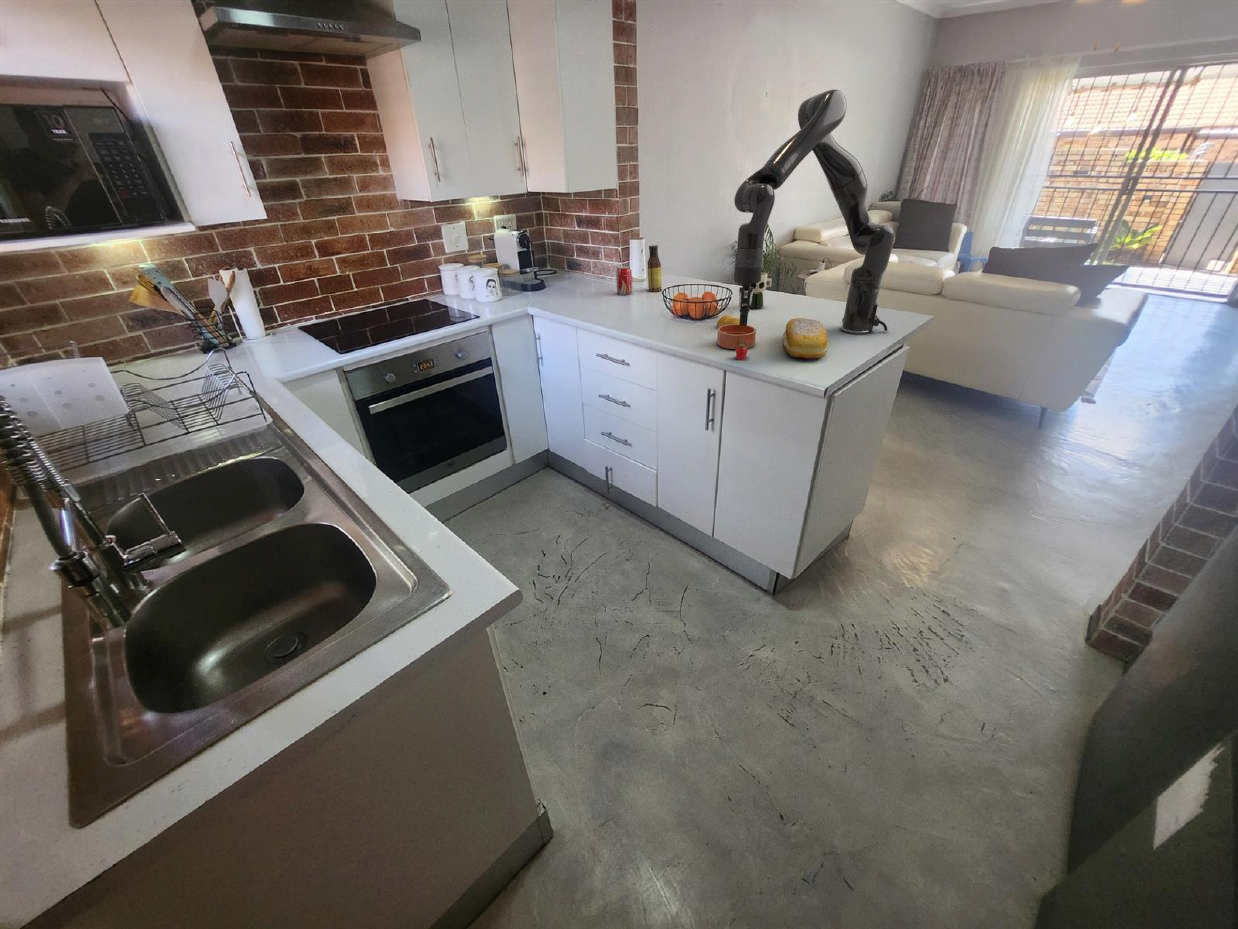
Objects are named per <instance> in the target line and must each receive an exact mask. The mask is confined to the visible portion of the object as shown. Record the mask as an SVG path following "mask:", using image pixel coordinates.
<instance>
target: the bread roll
mask: <svg viewBox="0 0 1238 929" xmlns="http://www.w3.org/2000/svg"><path fill="white" fill-rule="evenodd" d="M739 322H740V318H737V317H733V316H731V315H723V316H721V317H720V318H719V319H717V321H716V325H717V327H718V328H719V327H721V326H724V325H730V324H739Z"/></svg>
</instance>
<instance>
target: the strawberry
mask: <svg viewBox="0 0 1238 929" xmlns="http://www.w3.org/2000/svg"><path fill="white" fill-rule="evenodd" d="M747 354H748V348H746V347H745V345H744V344H739V346H738V347H737V348H736V349H735V359H736V360H739V361H744V360H746V359H747Z"/></svg>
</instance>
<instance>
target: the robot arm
mask: <svg viewBox="0 0 1238 929" xmlns="http://www.w3.org/2000/svg"><path fill="white" fill-rule="evenodd" d="M847 106H848V105H847V99H846V96H845V94H844V93H843V92H842V90H839V89H829V90H825V91H823V92H821V93H819V94H816V95H813V96H810V97H809V98H807V99H805V100H803V101H802V103H801V104H800V105H799V107H798V110H797V111H798V112H797V121H798V126H799V129H800V130H798V131H796V133H795V134H793V135H792V136H791V137H790V138H788V139H787V140H786V141H784V143H783V144H781V145H780V146H779V147H778V148H777V149H776V150H775V151H774V153H773V154H772V155H771V156H770V157H769V158H768V159H767V161H766V162H765V163H764V165H763V166H762V167H761V168H760V169H758V170H756V171H754V173H752V174H751V175H750V176H749V177H747V178H746V179H745V180H744V181H743V182H742V183H741V184H740V185H739V186H738V188H737V189H736V192H735V194H734V199H733V200H734V201H733V202H734V207H735V208H736V210H737V211H738V212H741V213H745V214H746V213H747V214H752V216H751V218H750V221H748V222H744V223H742V224H740V225H739V228H738V231H737V232H738V233H737V244H736V250H735V252H736V253H735V258H734V259H735V260H734V271H733V282H735V283H736V284H742V286H740V287H739V289H738V298H739V299H738V306H739V314H740V315H739V319H740V322H739V325H740V326H747V325H748V319H749V318H748V317H749V312H750V307H749V306H750V305H751V300H752V296H753V287H751V284H752V283H758V282H760V280H761V273H763V272H762V270H763V261H764V243H765V232H766V228H767V226H768V223H769V220H770V217H771V214H772V211H773V208H774V205H775V202H776V193H775V191H776V190H778V189H780V188H781V187H782V186H783V184H784V183H785V182H786V181H787V180H788V178H789V177H790V176H791V174H793V172H794V171H795V169H797V167H798V166H799V165H800V164H801V163H802V162H803V161H804V159H805V158H806V157H807V156H808V155H809V154H810V153H811V152H813V154H814V156H815V158H816V159H817V162H818V164H819V166H820V168H821V170H822V173H823V174H824V176H825V178H826V182H827V183H828V187H829V189H830V191H831V193H832V195H833V198H834V199H835V202H836V204H837V206H838V208H839V210H840V213H841V216H842V218H843V220H844V222H845V225H846V228H847V233H848V235H849V239H850V242H851V245H852V247H853V249H854V251H855V252H856V253H858V254H859V255H862V256H864V259H863V262H862V264H861V265H860V266H856V267H854V268H853V270H852V272H851V277H850V282H849V286H848V292H847V298H846V304H845V309H844V314H843V317H842V320H841V322H842V324H841V328H840V329H841V331H843V332H845V333H848V334H857V335H861V334H862V335H863V334H871V333H873V329H874V327H879V325H881V326H882V327H883V330H884V332H888V326H887V324H886V323H885V321H883V320H880V317H879V316H878V315H876V314H877V311H878V306H879V304H878V297H879V293H880V288H881V283H882V280H883V276H884V273H885V272H886V271H887V268H888V266H889V262H890V257H891V255H892V252H893V247H894V242H895V232H894V229H893V228H892V227H891V226H888V225H885V224H879V223H874V221H873V220H872V218H871V216H870V214H869V212H868V209H867V197H868V189H869V188H868V187H869V186H868V185H869V184H868V179H867V177H866V175H865V173H864V170H863V166H862V164H861V163H860V161H859V160H858V158H856V156H854V155H853V154H852V153H851V152H849V151H848V150H847V149H845V148H844V147H843V146H841V144H839V143H838V142H837V141H836V140H835V138H834V136H833V134H832V132H834V130H836V129H837V128H838V127H839V126H840V125H841V124H842V122H843V121H844V118H845V116H846V113H847V109H848V108H847Z"/></svg>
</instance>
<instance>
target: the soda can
mask: <svg viewBox="0 0 1238 929" xmlns="http://www.w3.org/2000/svg"><path fill="white" fill-rule="evenodd" d="M615 272H616V273H615V275H616V276H615V278H616V292H617V294H618V295H619V296H628V295H631V294H632V293H633V274H632V269H631V266H630V265H617V269H616V271H615Z"/></svg>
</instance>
